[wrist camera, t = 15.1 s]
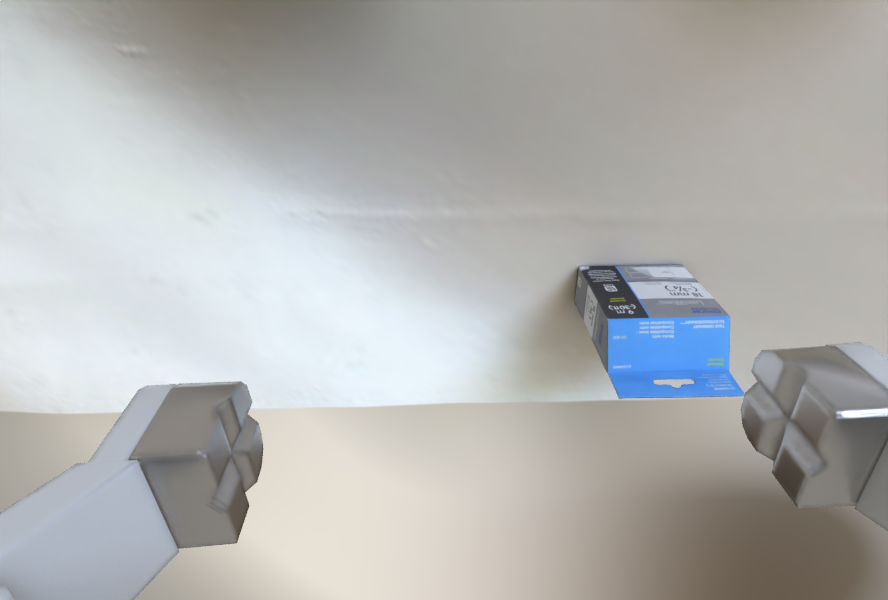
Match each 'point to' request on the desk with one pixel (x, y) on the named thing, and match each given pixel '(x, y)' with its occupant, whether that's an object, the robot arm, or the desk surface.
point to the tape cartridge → (656, 330)
